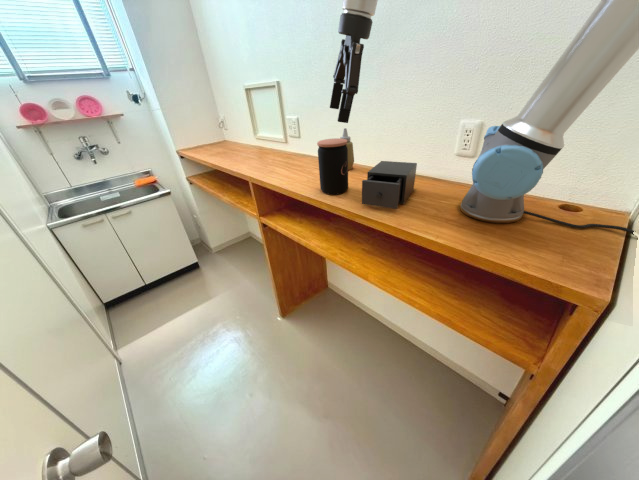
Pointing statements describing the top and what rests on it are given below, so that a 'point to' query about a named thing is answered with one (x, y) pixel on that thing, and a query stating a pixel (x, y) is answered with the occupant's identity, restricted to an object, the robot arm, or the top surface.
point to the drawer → (382, 191)
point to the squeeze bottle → (350, 149)
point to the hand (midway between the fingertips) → (338, 114)
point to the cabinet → (397, 175)
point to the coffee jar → (333, 165)
